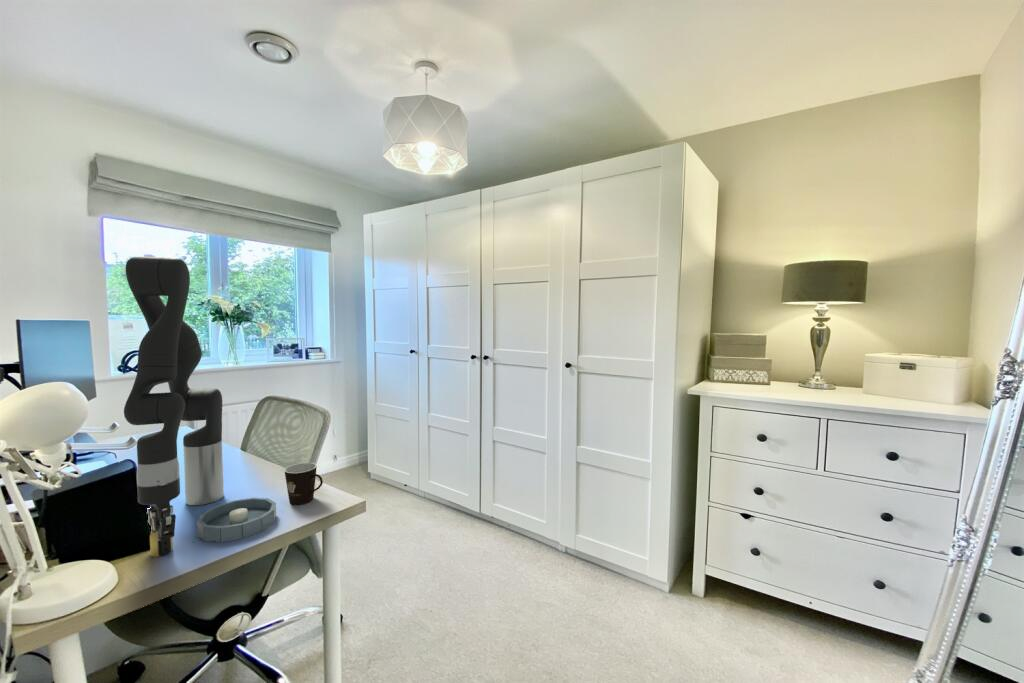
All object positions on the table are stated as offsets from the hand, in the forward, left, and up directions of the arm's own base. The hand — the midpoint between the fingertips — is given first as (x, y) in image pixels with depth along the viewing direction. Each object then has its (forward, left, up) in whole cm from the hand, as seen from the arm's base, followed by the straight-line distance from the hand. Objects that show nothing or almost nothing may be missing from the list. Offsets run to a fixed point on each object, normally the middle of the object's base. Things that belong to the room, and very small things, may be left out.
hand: (161, 550), depth 97 cm
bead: (0, 0, 0) cm, 0 cm away
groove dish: (0, +16, 0) cm, 16 cm away
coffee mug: (0, +33, -1) cm, 33 cm away
